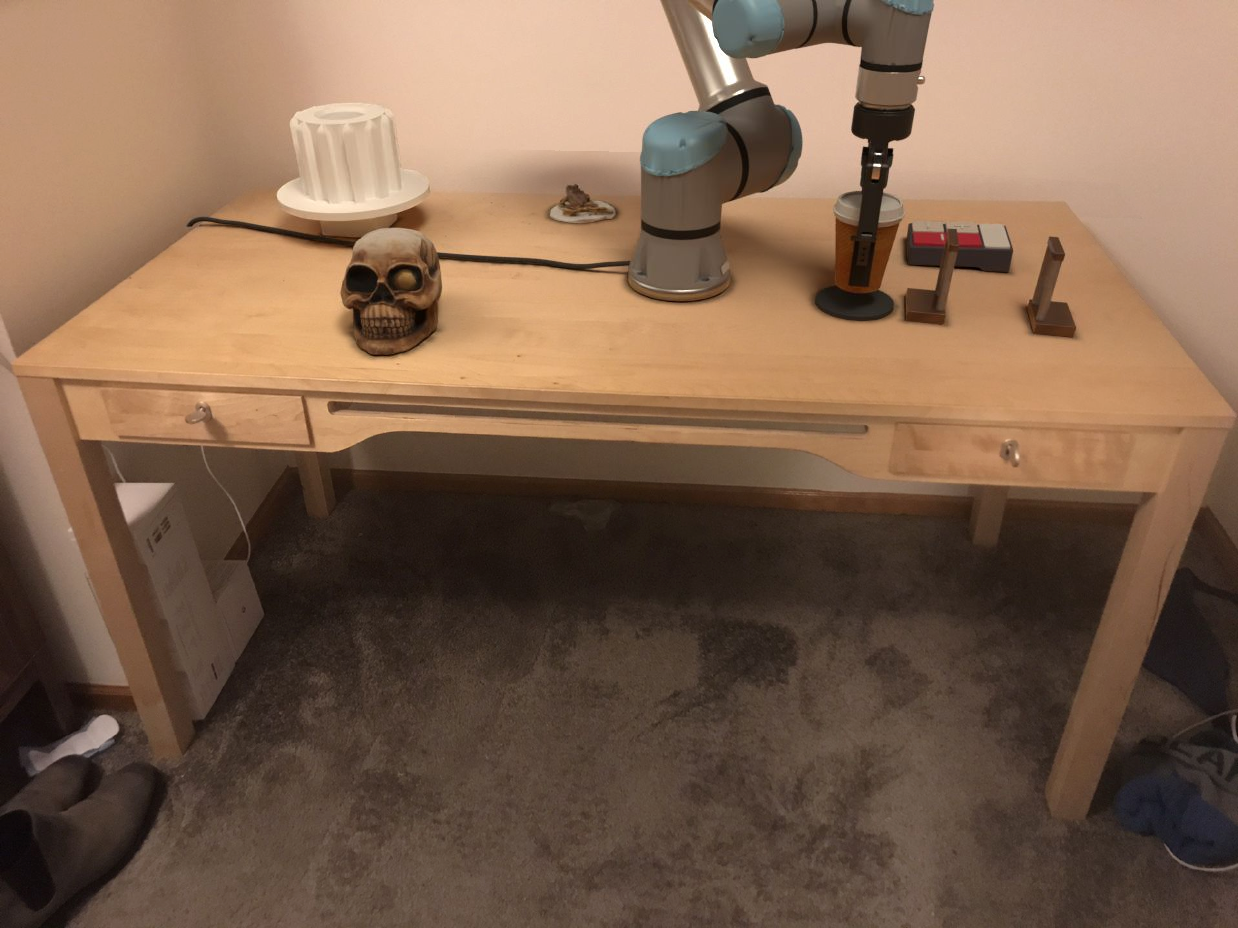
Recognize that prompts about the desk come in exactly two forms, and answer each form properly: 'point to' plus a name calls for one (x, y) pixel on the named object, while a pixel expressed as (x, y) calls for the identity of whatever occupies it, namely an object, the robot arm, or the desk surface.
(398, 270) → the brown skull
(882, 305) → the coaster
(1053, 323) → the bookends
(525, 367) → the desk surface
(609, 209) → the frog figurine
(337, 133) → the ribbed cylinder on disc
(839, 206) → the disposable coffee cup
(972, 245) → the calculator
